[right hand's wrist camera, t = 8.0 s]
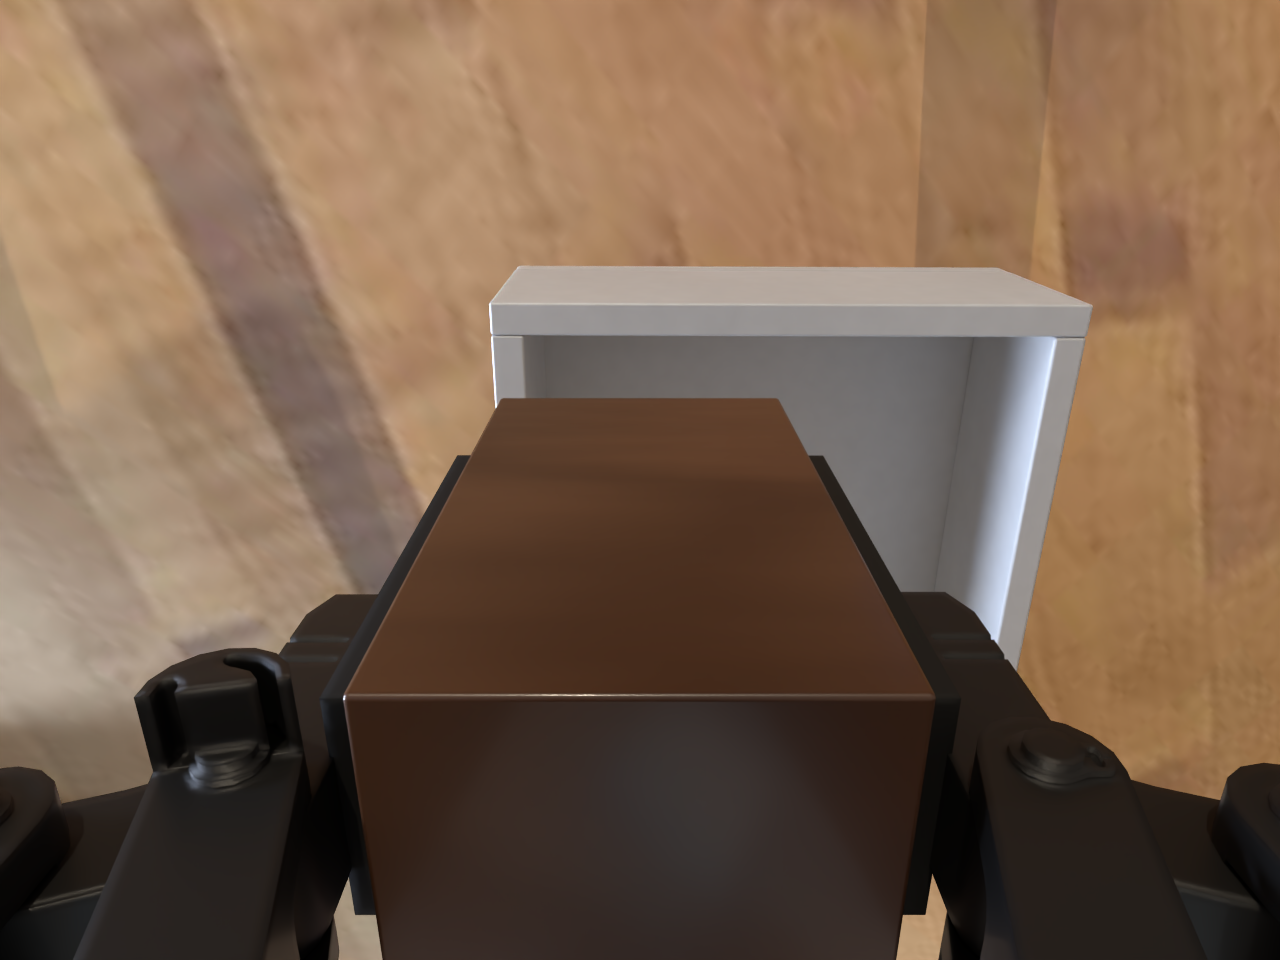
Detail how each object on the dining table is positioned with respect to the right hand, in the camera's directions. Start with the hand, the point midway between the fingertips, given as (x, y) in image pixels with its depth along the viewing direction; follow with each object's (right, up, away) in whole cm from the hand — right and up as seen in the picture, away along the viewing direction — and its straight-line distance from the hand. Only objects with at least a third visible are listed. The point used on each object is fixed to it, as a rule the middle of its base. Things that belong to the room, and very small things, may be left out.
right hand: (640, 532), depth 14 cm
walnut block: (0, 0, 0) cm, 0 cm away
